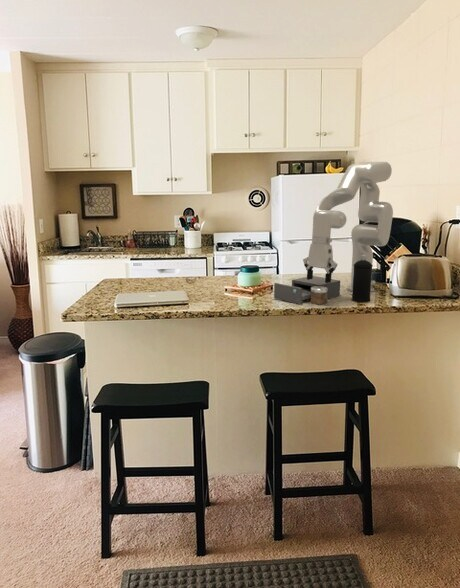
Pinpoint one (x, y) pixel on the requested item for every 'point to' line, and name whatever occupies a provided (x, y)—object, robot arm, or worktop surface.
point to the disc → (319, 289)
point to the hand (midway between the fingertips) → (318, 280)
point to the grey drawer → (291, 293)
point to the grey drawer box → (318, 281)
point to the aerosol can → (362, 280)
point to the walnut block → (318, 298)
